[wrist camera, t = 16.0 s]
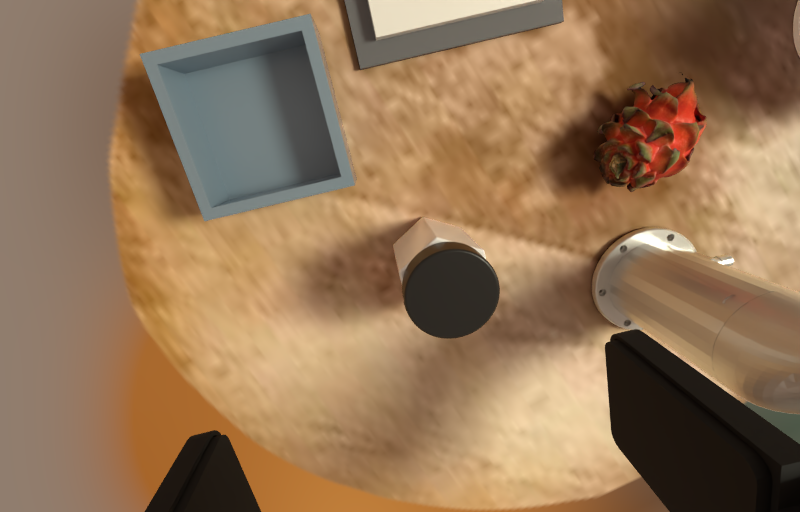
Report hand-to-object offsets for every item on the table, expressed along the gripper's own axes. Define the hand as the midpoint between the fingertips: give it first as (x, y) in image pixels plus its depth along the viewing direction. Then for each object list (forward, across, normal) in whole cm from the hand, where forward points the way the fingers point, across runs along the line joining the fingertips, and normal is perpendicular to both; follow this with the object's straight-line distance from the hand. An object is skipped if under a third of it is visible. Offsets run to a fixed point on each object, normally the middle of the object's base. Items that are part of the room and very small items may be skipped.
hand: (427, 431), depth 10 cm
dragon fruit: (+35, -27, -1) cm, 44 cm away
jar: (+34, -4, +7) cm, 35 cm away
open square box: (+35, +9, -10) cm, 37 cm away
